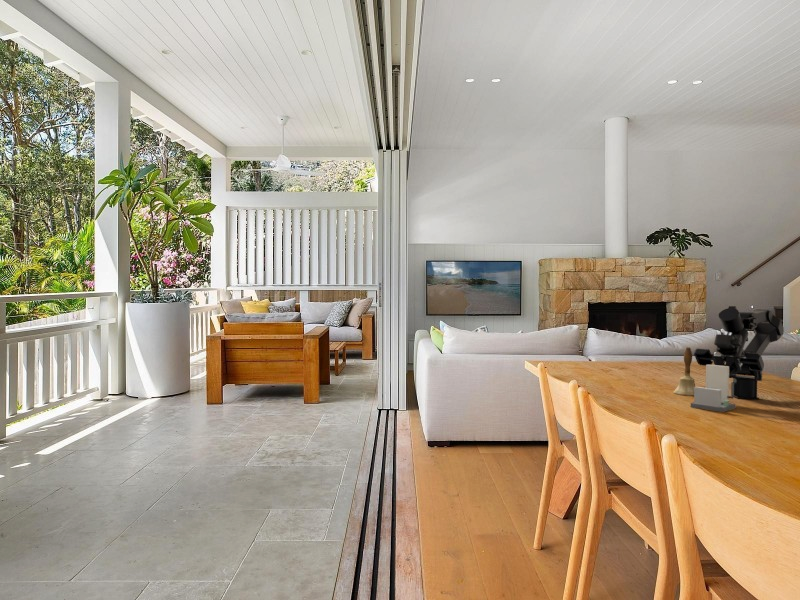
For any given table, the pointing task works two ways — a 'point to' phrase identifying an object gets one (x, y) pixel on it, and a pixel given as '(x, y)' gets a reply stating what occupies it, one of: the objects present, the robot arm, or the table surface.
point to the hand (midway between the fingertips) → (720, 379)
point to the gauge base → (710, 400)
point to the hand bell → (686, 377)
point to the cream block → (718, 380)
